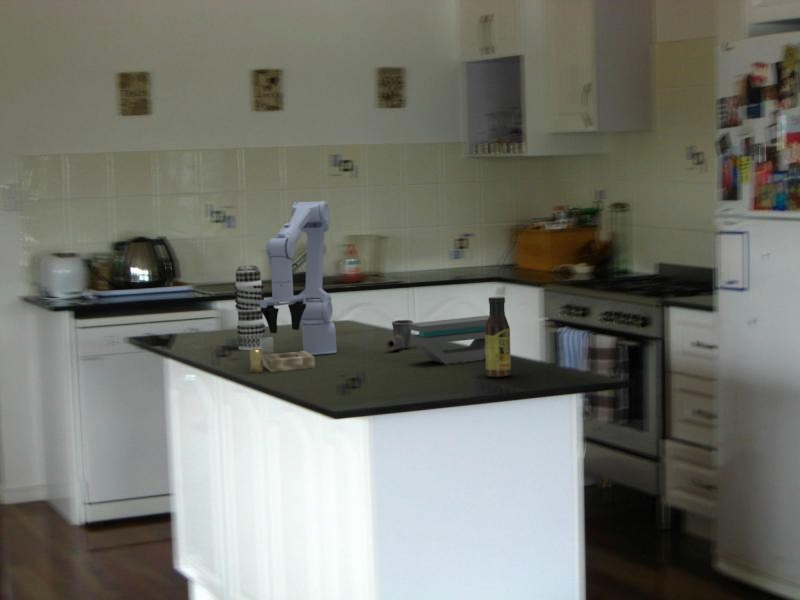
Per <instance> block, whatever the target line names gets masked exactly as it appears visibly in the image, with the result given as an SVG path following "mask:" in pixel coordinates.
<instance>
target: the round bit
mask: <svg viewBox="0 0 800 600" xmlns="http://www.w3.org/2000/svg"><path fill="white" fill-rule="evenodd" d="M249 361H250V362H249V363H250V373H251V372H254V373H253V374H259V372H261V373H264V366H263V364H262V349H251V350H249Z"/></svg>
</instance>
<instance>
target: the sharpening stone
mask: <svg viewBox="0 0 800 600" xmlns="http://www.w3.org/2000/svg"><path fill="white" fill-rule="evenodd" d="M489 316H490V314H489V315H480V316H470V317H469V316H468V317H461V318H459V317H458V318H451V319H441V320H439V319H438V320H431V321H421V322H413V323H410V324H409V329H410V330H411V331H413V332H418V334H415V335H413V334H412V343H413V345H414V346H416V347H417V348H418V350H420V351H421V352H422V353H424V355H425V356H427V357H428V358H429V359H430V360H431V361H432V360H433V361H432V362H435V361H437V362H436V363H439V362H440V363H439V364H442V363H444V364H443V365H451V364H450V363H453V364H459V362H461V363H467V362H468V361H470V362H476V361H477V360H478V361H483V360H485V359H486V355H485V334H486V332H485V325H486V322H487V320H488V318H489ZM471 340H472V341H471ZM461 341H463V342H464V341H471V343H470V344H469V346H461V347H452V348H442V349H441V348H440V347H439V346H438V345H437V344H445V343H453V342H461Z"/></svg>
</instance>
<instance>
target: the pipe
mask: <svg viewBox="0 0 800 600" xmlns="http://www.w3.org/2000/svg"><path fill="white" fill-rule="evenodd" d="M410 323H414V322H413V321H412V320H410V319H399V320H393V321H391V324H392V331H393V336H392V337H388V338H387V340H386V348H387V349H388V351H397V350H402V349H403V350H404V349H405V348H407V349H409V348H410V346H411V339H412V338H411V337H412V330H410V329H409V324H410Z"/></svg>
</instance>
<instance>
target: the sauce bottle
mask: <svg viewBox="0 0 800 600" xmlns="http://www.w3.org/2000/svg"><path fill="white" fill-rule="evenodd" d="M505 304H506V297H505V296H489V297H488V305H489V315H490V316H489V318H488V320H487V322H486V325H485V332H486V334H485V355H486V357H485V370H486V375H487V377H489V378H501V377H503V378H504V377H508V376H510V374H511V368H512V365H511V358H512V357H511V327H510V325H509V322H508V319H507V316H506V314H505Z"/></svg>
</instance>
